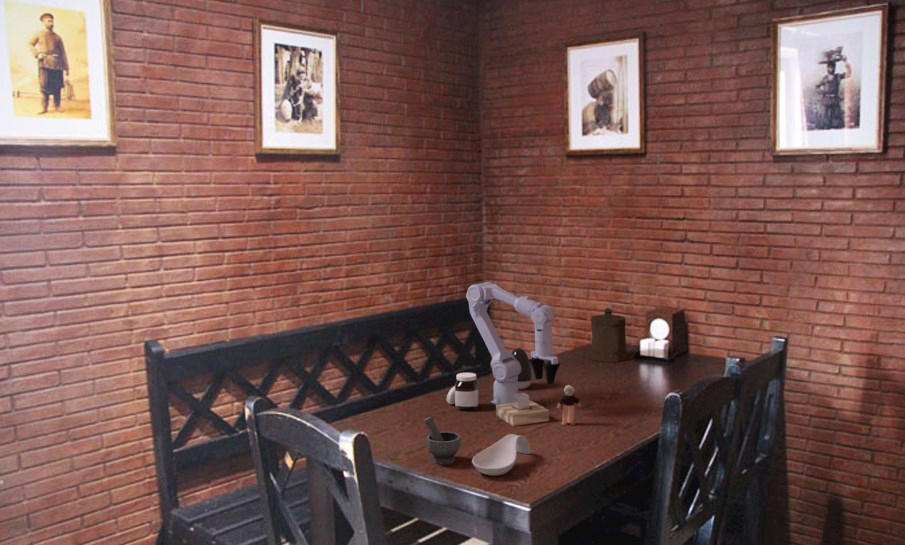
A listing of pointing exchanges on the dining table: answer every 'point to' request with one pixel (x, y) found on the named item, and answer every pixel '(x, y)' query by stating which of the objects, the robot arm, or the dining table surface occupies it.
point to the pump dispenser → (523, 368)
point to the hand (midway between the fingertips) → (544, 381)
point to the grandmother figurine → (568, 405)
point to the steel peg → (521, 401)
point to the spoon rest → (501, 455)
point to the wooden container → (608, 337)
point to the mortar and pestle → (441, 443)
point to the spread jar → (464, 392)
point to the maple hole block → (522, 414)
